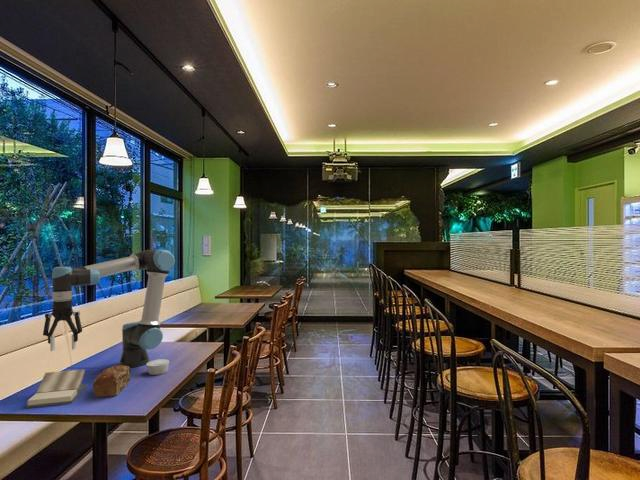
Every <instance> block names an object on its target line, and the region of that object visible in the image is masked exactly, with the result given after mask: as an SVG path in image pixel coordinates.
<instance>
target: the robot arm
mask: <svg viewBox="0 0 640 480" xmlns="http://www.w3.org/2000/svg"><path fill="white" fill-rule="evenodd" d="M175 259H176V258H175V256H174V255H173V253H172V252H171V251H170V250H167V249H146V250H143V251H139V252H136V253H135V252H134V253H132V254H130V256H126V257H121V258H116V259H111V260H109V261H108V260H107V261H103V262H98V263H93V264H90V265H86V266H80V267H76V268H72V267H71V266H55V267H53V268H52V273H51V274H52V275H51V280H52V283H51V284H52V301H53V302H52V312H48V313H45V314H44V318H45V320H44V321H45V322H44V325H43V333H42V336H46V337H47V344H48V345H49V344H50V347H49V348H50V352H54V350H55V349H56V347H55V346H56V345H55V344H56V343H55V341H56V340H55V338H56V337H55V335H54V332H55V330H56V327H57V325H58V323H59V322H60V321H63V322H64V321H65V322H66V323H67V324H68V327H69V328H70V330H71V333H72V335H71V350H72V351H73V350H75V349H76V348H77V347H76V345H77V343H76V342H78V340H79V334H81V333H82V332H83V328H82V322H81V318H80V315H81V312H80V311H74V310H73V301H72V299H73V287H79V286H92V285H97V284H98V283H99V282H100V280H101V278H105V277H108V276H111V275H116V274H120V273H124V272H129V271H135V272H136V271H142V270H143V271H144V270H146V274H147V275H148V277H147V278H148V279H147V284H146V289H145V290H146V291H145V297H144V302H143V307H142V308H143V309H142V313H141V319H140V320H139V321H135V322H128V323H125V324H123V325H122V329H121V332H122V334H121V335H122V352H121V355H120V359H119V364H118V365H124V366H129V367H130V368H135V367H141V366H144V365H146V364H147V363H148V362H150V357H149V354H148V351H147V350H154V349H156V348H157V347H159V345H161V343H162V342H163V338H164V334H163V331H162V330H161V323H160V321H159V319H160V312H161V306H162V301H163V296H164V295H163V294H164V288H165V280H166V277H168V276H169V274H170V270H172V268H174V266H175V262H176V260H175ZM52 316H53V318H54V320H53V323H52V325H51V327H50V324H51V321H52V320H51V319H52ZM72 316H73V317H74V320H75V323H74V322H73V319H72Z"/></svg>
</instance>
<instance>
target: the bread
mask: <svg viewBox="0 0 640 480" xmlns="http://www.w3.org/2000/svg"><path fill="white" fill-rule="evenodd" d="M130 380H131V367H129V366H124V365H119V364H118V365H112V366H111V367H108V368H106V369H104V370H102V371H101V373H99V374H98V375H97V376H96V378H95V379H94V380H93V384H92V390H93V397H96V398H109V397H115V396H117V395H118V394H119V393H121V392H122V391H123V390H124V389H125V388H126V387H127V385H128V384H129V383H130Z"/></svg>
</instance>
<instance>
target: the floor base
mask: <svg viewBox="0 0 640 480" xmlns="http://www.w3.org/2000/svg"><path fill="white" fill-rule="evenodd" d="M87 387H88V384H87V383H86V384H81V385H80V388H79V391H78V392H77V389H75V390H65V391H55V392H45V393H34V395H32V396H31V397H30V398H29V399H28V400H27V404H26V406H25V408H26V409H31V408H38V407H49V406H58V405H68V404H73V403H74V402H75V400H76V399H77V398H78V397H79V396H80V395H81V394H82V393H83V391H84V390H86V388H87Z"/></svg>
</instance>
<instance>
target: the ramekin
mask: <svg viewBox="0 0 640 480" xmlns="http://www.w3.org/2000/svg"><path fill="white" fill-rule="evenodd" d="M169 365H170V360H169V359H166V358H163V359H162V358H161V359H158V358H157V359H154V360H153V359H152V360H149V362H148V363H147V364H145V367H146V371H147V373H148V374H149V375H151V376H157V375H158V376H159V375H163V374H165V373H167V372H168V370H169Z"/></svg>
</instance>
